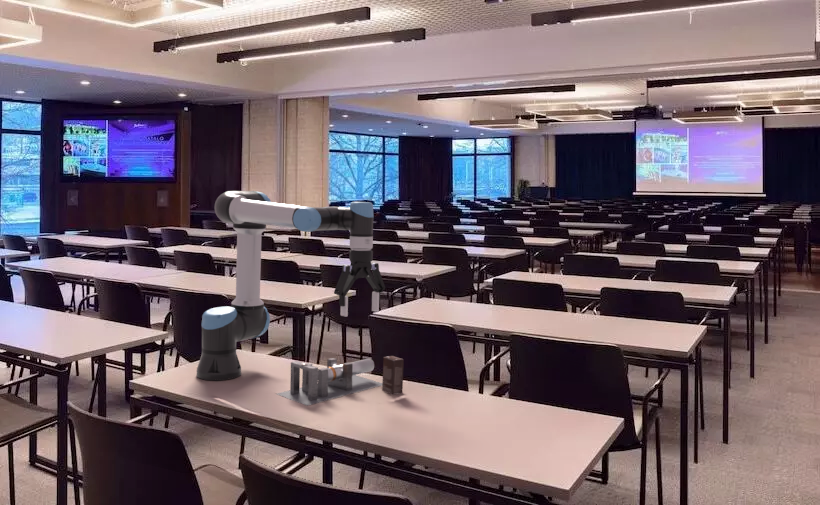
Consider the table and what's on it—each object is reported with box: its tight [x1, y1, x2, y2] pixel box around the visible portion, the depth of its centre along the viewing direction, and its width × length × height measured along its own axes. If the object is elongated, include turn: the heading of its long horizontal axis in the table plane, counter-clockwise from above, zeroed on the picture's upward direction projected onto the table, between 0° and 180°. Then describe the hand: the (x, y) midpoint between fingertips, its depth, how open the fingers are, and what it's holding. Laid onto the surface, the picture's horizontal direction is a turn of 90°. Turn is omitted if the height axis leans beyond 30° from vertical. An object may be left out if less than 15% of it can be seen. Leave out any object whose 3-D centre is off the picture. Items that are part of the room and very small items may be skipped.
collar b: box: [301, 362, 328, 398], centre depth 220 cm, size 10×2×9 cm, turn 48°
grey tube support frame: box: [326, 357, 352, 391], centre depth 227 cm, size 10×2×9 cm, turn 48°
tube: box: [325, 358, 375, 382], centre depth 229 cm, size 5×22×5 cm, turn 138°
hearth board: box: [276, 374, 382, 407], centre depth 226 cm, size 16×34×1 cm, turn 138°
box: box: [381, 355, 404, 395], centre depth 225 cm, size 6×4×12 cm
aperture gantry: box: [289, 360, 319, 401], centre depth 216 cm, size 11×2×10 cm, turn 48°
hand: (359, 313), depth 224 cm, fingers open, 13 cm apart
